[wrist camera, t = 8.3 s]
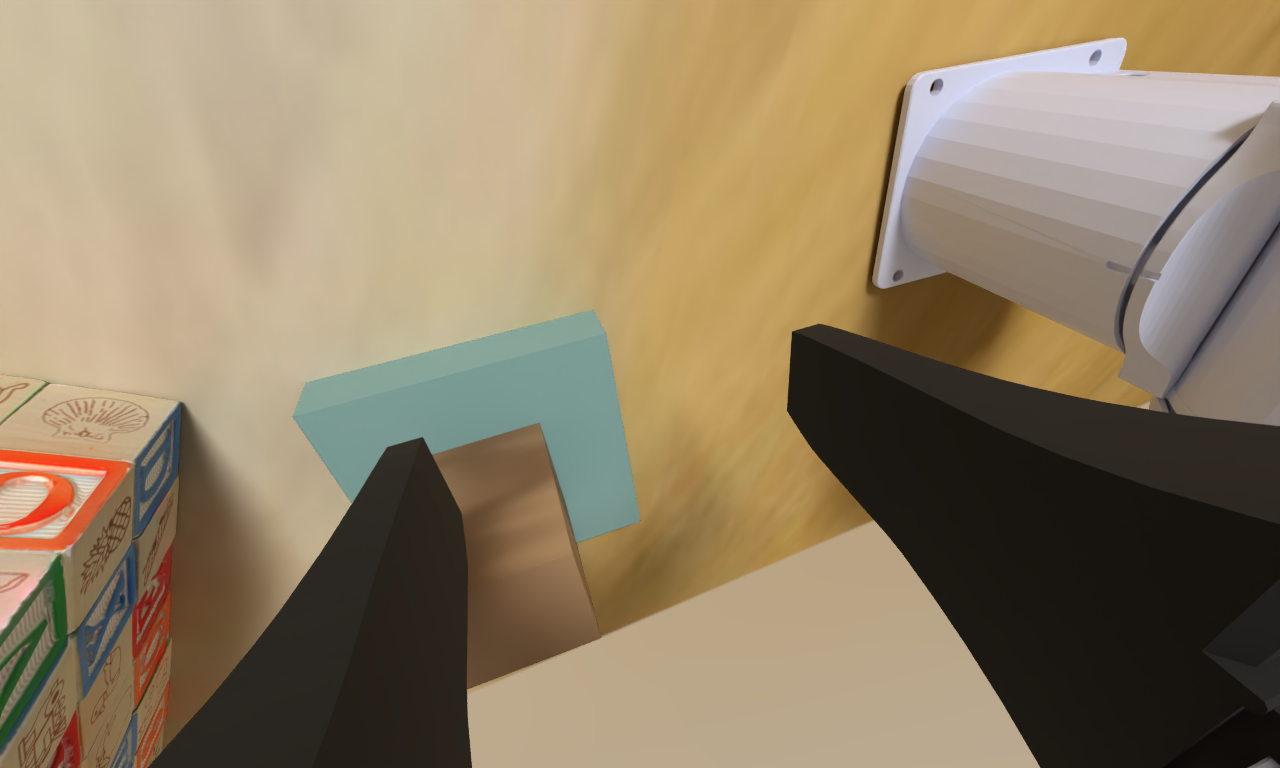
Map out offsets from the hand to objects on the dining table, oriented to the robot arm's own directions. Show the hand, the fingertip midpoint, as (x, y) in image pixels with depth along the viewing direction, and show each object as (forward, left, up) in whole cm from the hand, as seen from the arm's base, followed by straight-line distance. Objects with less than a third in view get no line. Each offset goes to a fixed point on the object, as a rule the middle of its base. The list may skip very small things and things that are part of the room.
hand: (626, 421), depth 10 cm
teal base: (+4, +7, -10) cm, 13 cm away
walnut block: (+4, +8, -8) cm, 11 cm away
